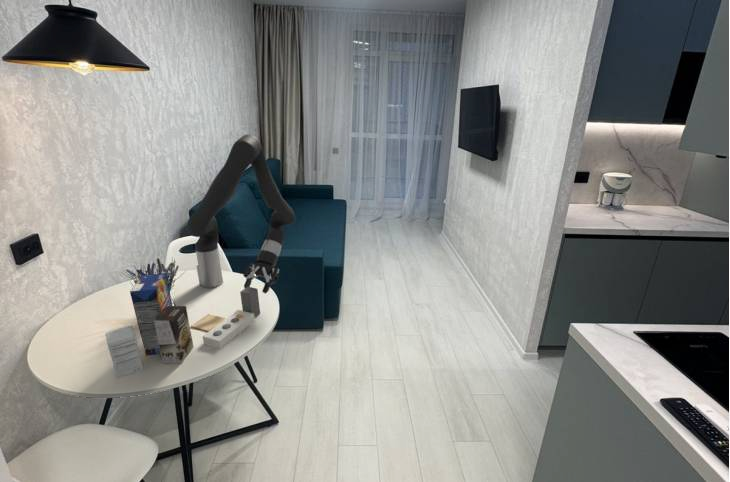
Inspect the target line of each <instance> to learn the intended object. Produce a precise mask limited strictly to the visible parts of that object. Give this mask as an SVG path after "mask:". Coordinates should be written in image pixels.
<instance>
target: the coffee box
mask: <svg viewBox="0 0 730 482" xmlns="http://www.w3.org/2000/svg"><path fill="white" fill-rule="evenodd" d="M154 324H155V328H156V333H157V338H158V342H159V347H160V351H161V354H160V355H161V361H162V363H163V364H178V365H179V364H182V363H183V362H184V361H185V359H186V358H187V357H188V356H189V354H190V352H191V351H192V350H193V349H194V342H193V336H192V331H191V325H190V320H189V316H188V310H187V306H186V305H172V306H168V307H167V308H166V309H165V310H164V311H163V312H162V313H161V314H160V315H159V316H158V317H157V318H156V319H155V320H154Z"/></svg>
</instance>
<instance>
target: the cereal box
mask: <svg viewBox="0 0 730 482" xmlns="http://www.w3.org/2000/svg"><path fill="white" fill-rule="evenodd" d="M129 294H130V298H131V301H132V305H133V309H134V313H135V317H136V322H137V325H138V330H139V333H140V338H141V341H142V342H141V343H142V346H143V350H144V355H145V357H150V356H157V355H161V351H160V347H159V342H158V338H157V333H156V328H155V324H154V320H155V319H156V318H157V317H158V316H159V315H160V314H161V313H162V312H163V311H164V310H165V309H166V308H167V307H168V306H173V302H172V299H171V297H172V296H171V292H170V287H169V282H168V278H167V274H166V273H165V272H164V273H156V274H145V275H141V276H140V277H139V278H138V280H137V281H136V283H135V284H133V287H132V288H131V290H130V291H129Z"/></svg>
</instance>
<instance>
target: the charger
mask: <svg viewBox="0 0 730 482" xmlns="http://www.w3.org/2000/svg"><path fill="white" fill-rule="evenodd" d="M258 290H259V289H258V288H256V287H253V286H252V287H251V286H250V287H247V288H243V289H242V290H241V291H240V292H239V293H240V300H241V309H242V311H245V312H249V313H253V314H254V317H255V318H257V317H258V316H259V315H260V314H261V309H260V299H259V298H260V297H259V291H258Z"/></svg>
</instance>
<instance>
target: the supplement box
mask: <svg viewBox="0 0 730 482" xmlns="http://www.w3.org/2000/svg"><path fill="white" fill-rule="evenodd" d="M105 338H106V344H107V349H108V351H109V354H110V358H111V362H112V365H113V368H114V369H113V370H114V372H115V376H116V378H118V377H119V378H122V377H124V375H125V376H128V375H130V374H133V373H137V372H139V371H142V370H143V369H144V366H143V360H142V357H141V353H140V348H139V345H138V341H137V337H136V334H135V331H134V328H133V325H128V326H124V327H121V328H118V329H115V330H111V331H108V332H105ZM127 374H128V375H127Z"/></svg>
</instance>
